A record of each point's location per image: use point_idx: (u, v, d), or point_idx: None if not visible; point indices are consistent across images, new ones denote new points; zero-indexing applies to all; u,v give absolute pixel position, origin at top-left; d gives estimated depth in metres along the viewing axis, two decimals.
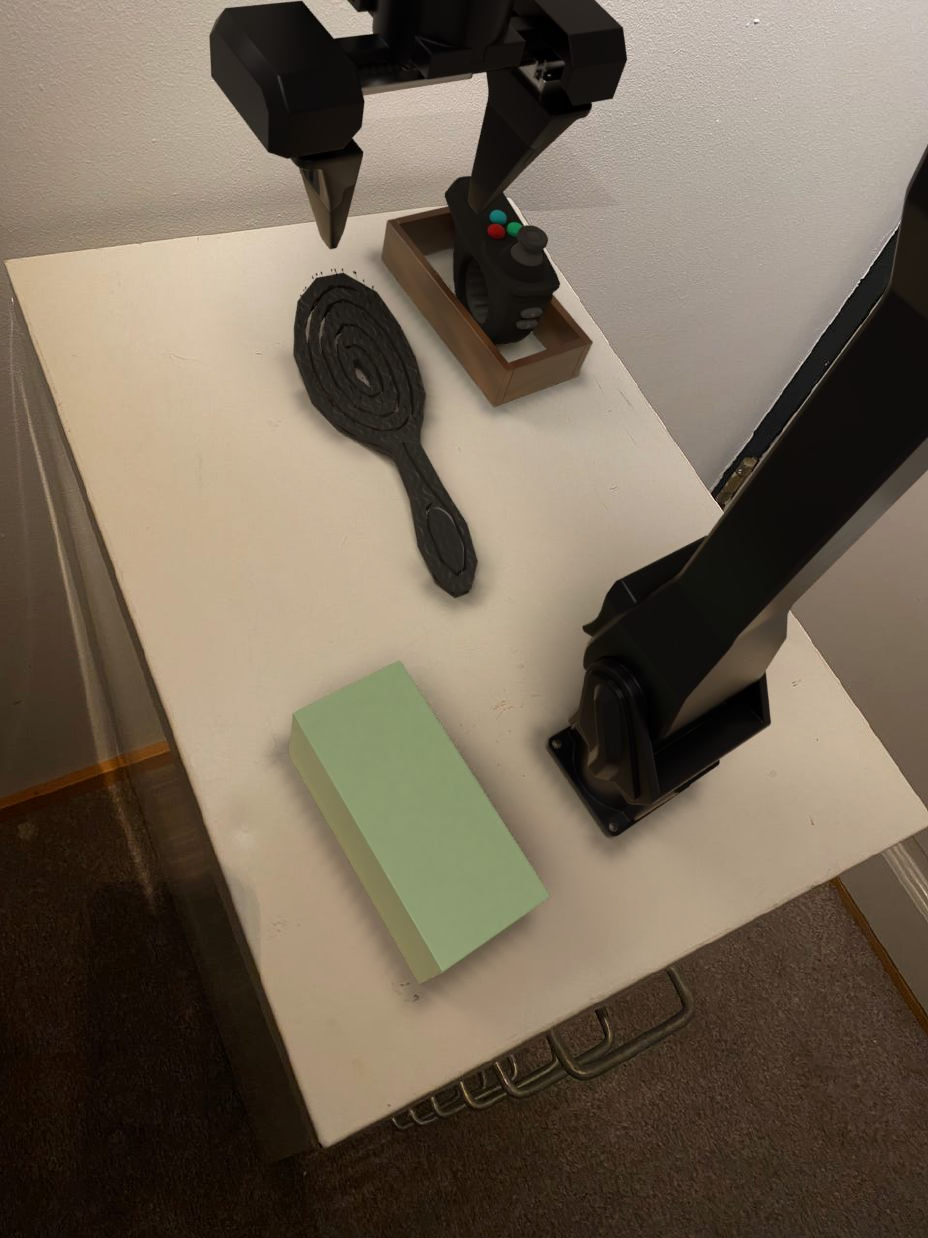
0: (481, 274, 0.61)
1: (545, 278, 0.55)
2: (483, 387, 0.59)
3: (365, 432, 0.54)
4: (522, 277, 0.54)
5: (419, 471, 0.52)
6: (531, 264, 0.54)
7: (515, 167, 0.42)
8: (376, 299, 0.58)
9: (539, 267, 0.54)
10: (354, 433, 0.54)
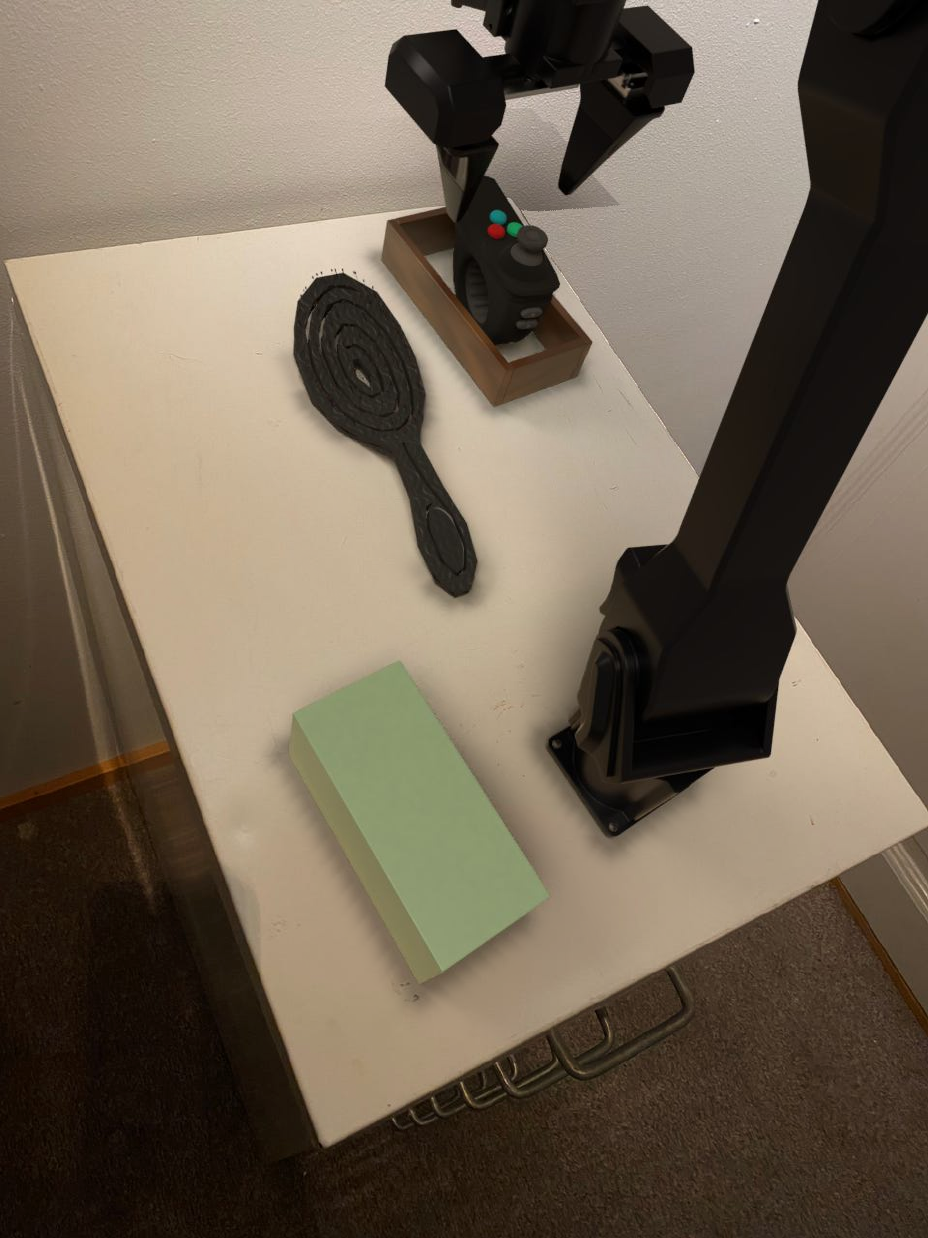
0: (481, 274, 0.61)
1: (545, 278, 0.55)
2: (483, 387, 0.59)
3: (365, 432, 0.54)
4: (522, 277, 0.54)
5: (419, 471, 0.52)
6: (531, 264, 0.54)
7: (601, 157, 0.53)
8: (376, 299, 0.58)
9: (539, 267, 0.54)
10: (354, 433, 0.54)
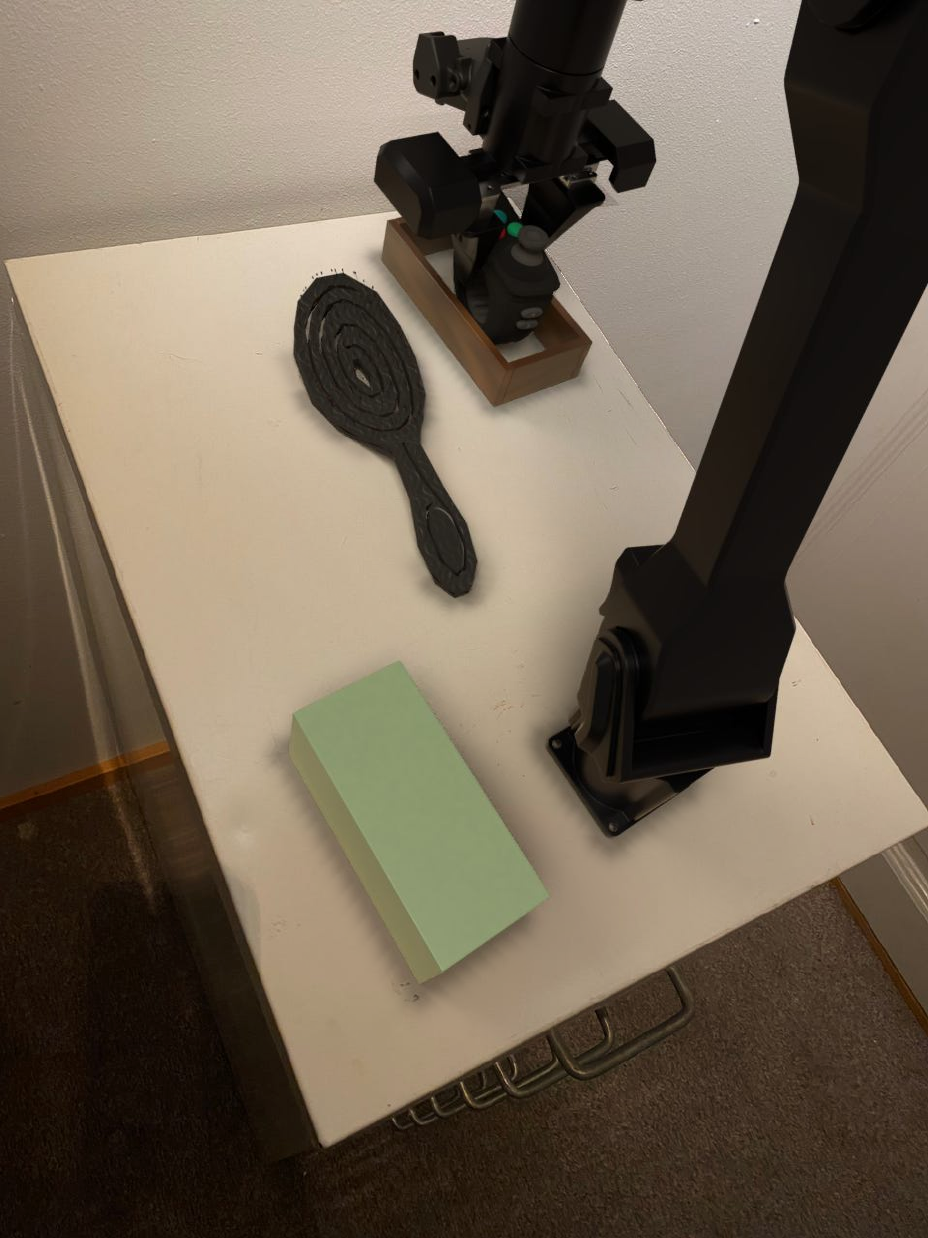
0: (481, 274, 0.61)
1: (545, 278, 0.55)
2: (483, 387, 0.59)
3: (365, 432, 0.54)
4: (522, 277, 0.54)
5: (419, 471, 0.52)
6: (531, 264, 0.54)
7: None
8: (376, 299, 0.58)
9: (539, 267, 0.54)
10: (354, 433, 0.54)
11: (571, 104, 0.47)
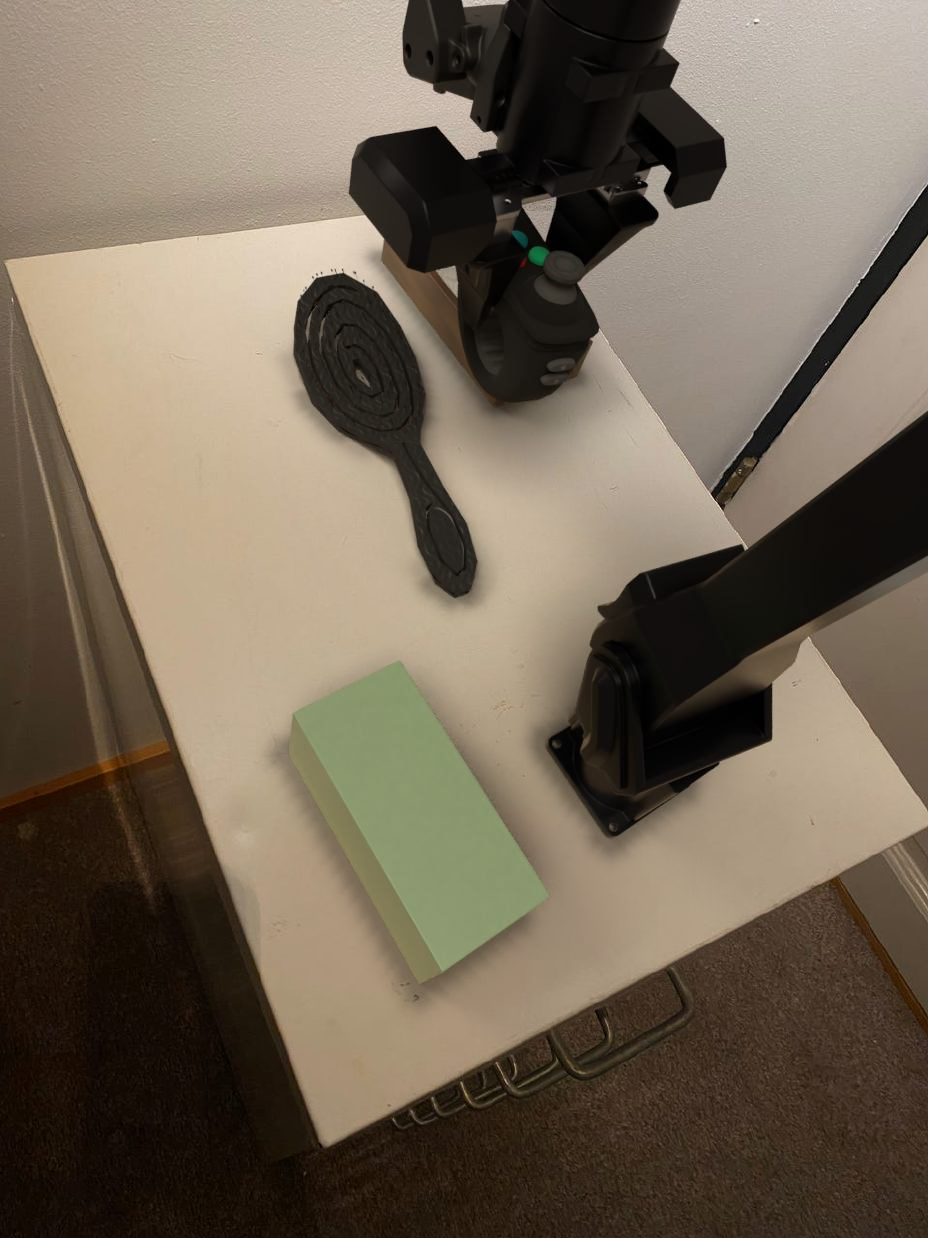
0: (494, 312, 0.48)
1: (580, 320, 0.42)
2: None
3: (365, 432, 0.54)
4: (550, 319, 0.41)
5: (419, 471, 0.52)
6: (561, 301, 0.41)
7: None
8: (376, 299, 0.58)
9: (572, 306, 0.41)
10: (354, 433, 0.54)
11: (622, 85, 0.33)
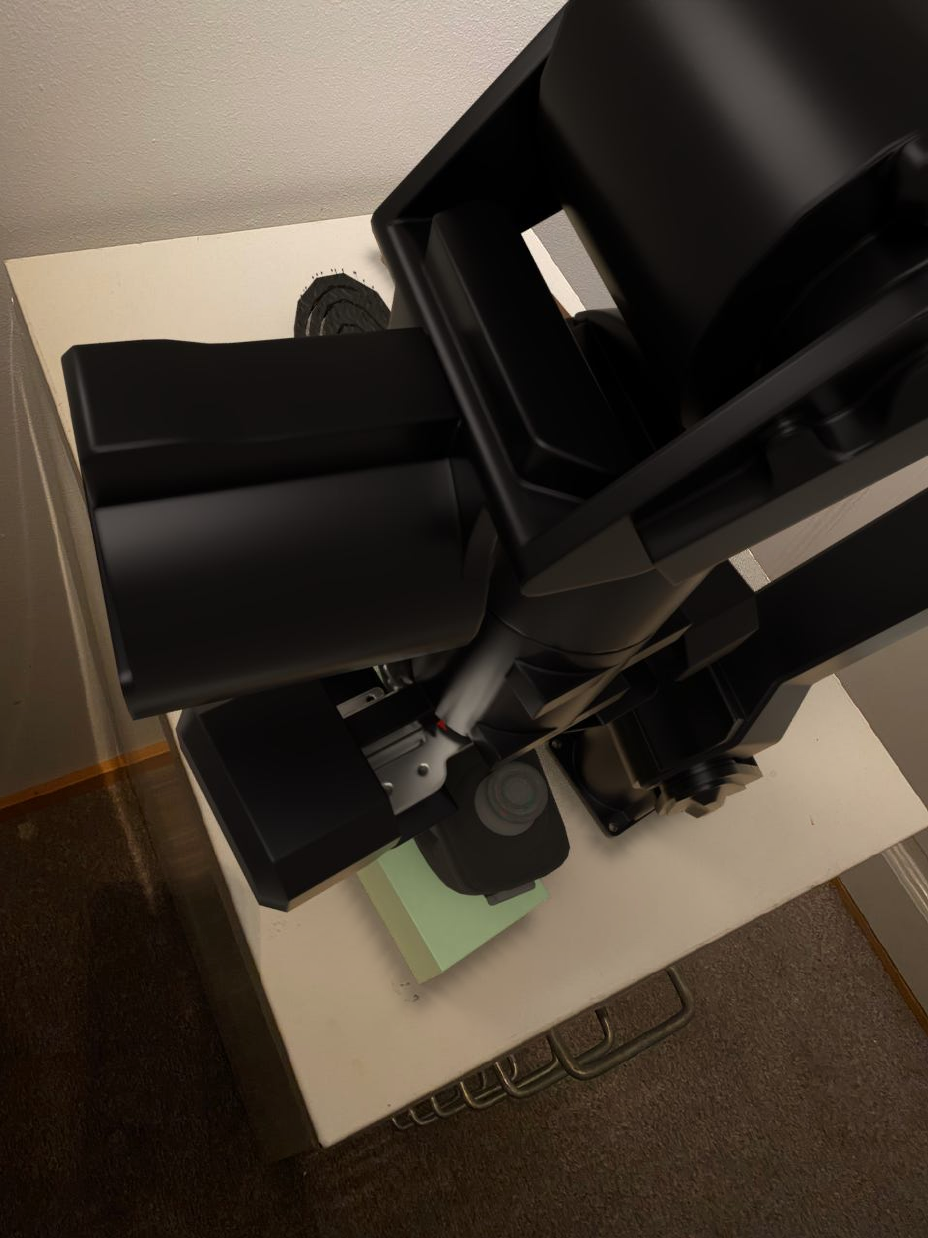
0: None
1: (542, 841, 0.29)
2: None
3: None
4: (497, 854, 0.28)
5: None
6: (514, 832, 0.28)
7: None
8: (376, 299, 0.58)
9: (530, 833, 0.28)
10: None
11: (599, 679, 0.20)
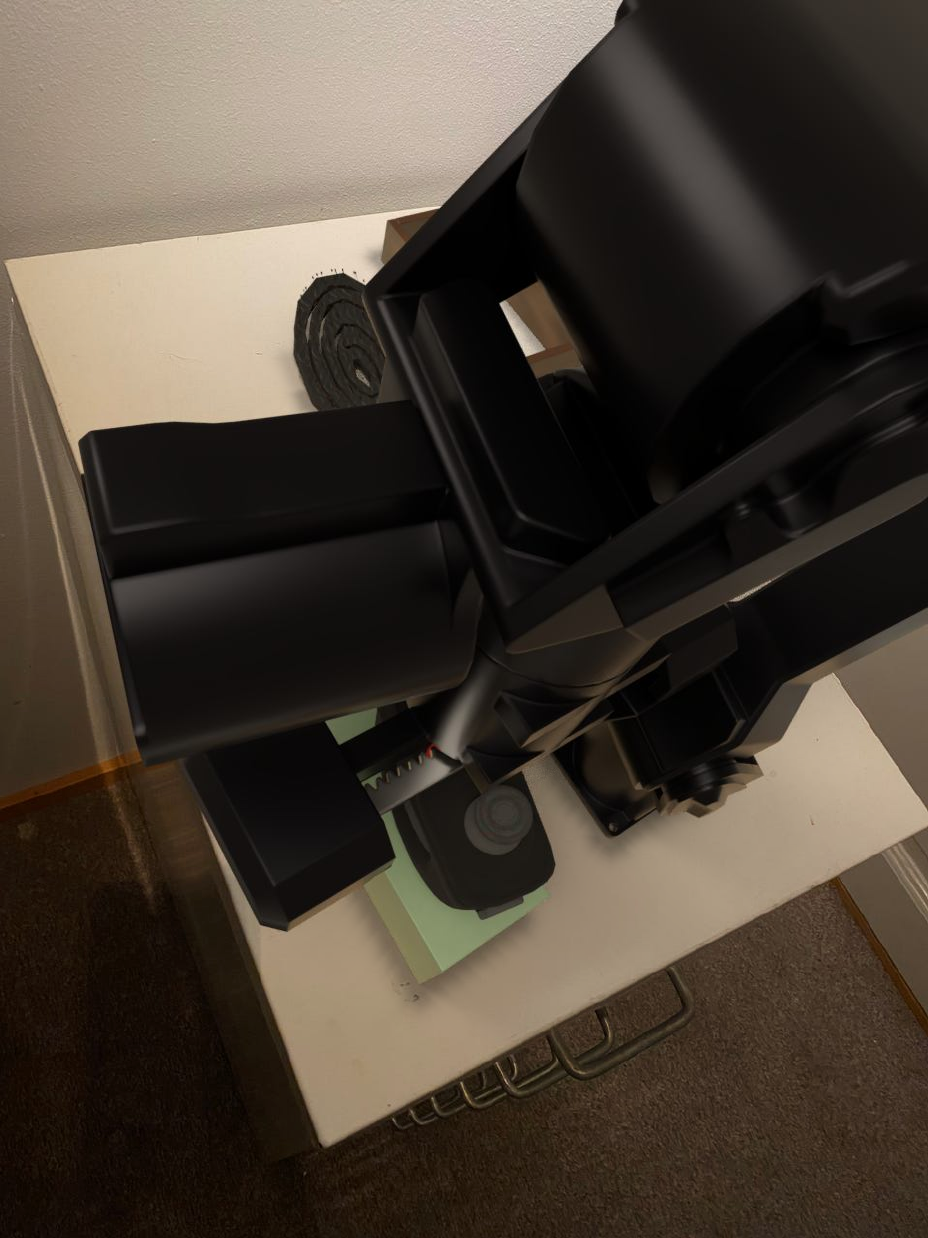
0: None
1: (528, 859, 0.30)
2: None
3: None
4: (486, 872, 0.30)
5: None
6: (501, 852, 0.29)
7: None
8: None
9: (517, 852, 0.30)
10: None
11: (582, 708, 0.21)
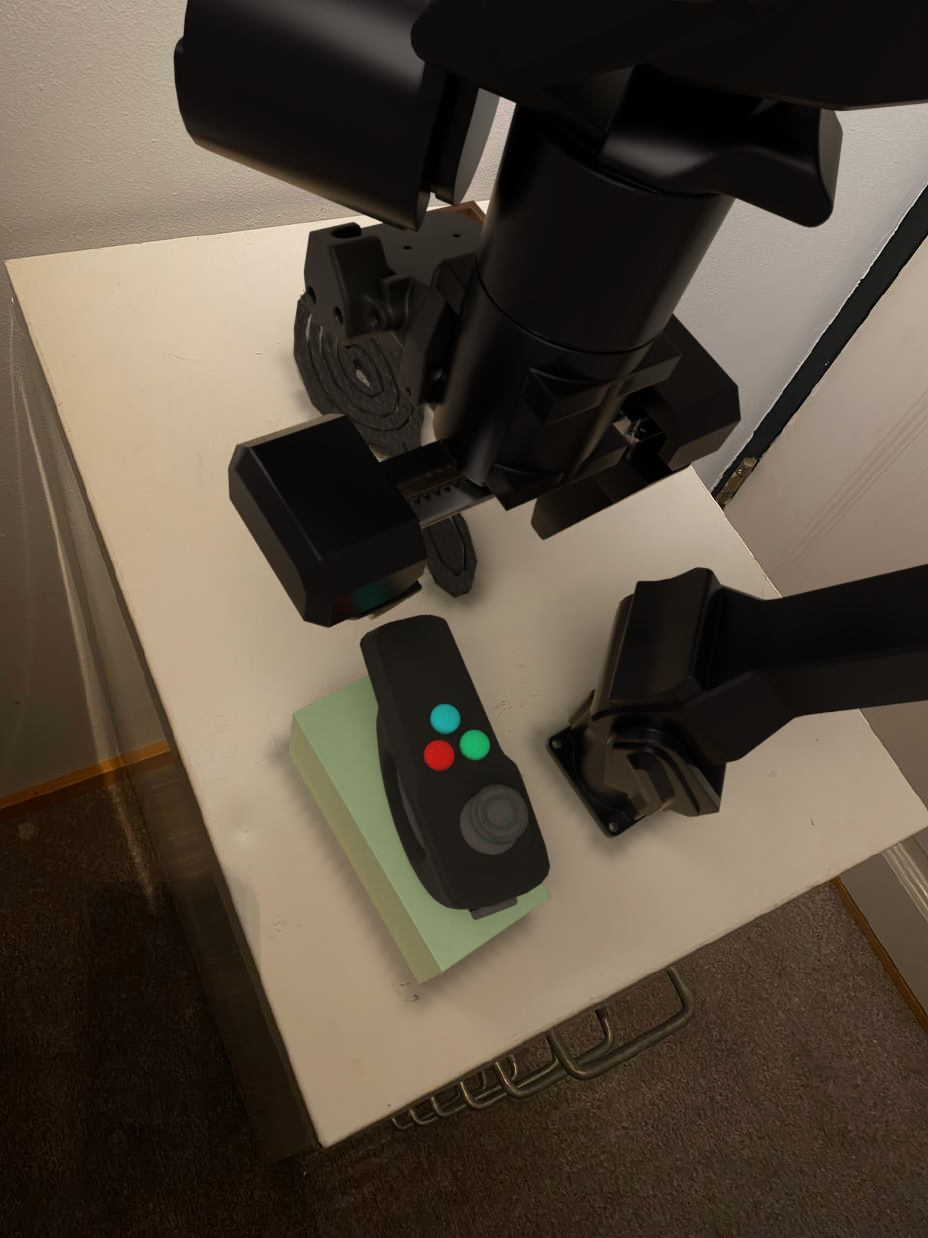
0: None
1: (523, 860, 0.30)
2: None
3: (365, 432, 0.54)
4: (480, 871, 0.30)
5: None
6: (496, 851, 0.29)
7: (594, 514, 0.35)
8: None
9: (512, 852, 0.30)
10: None
11: (601, 395, 0.23)
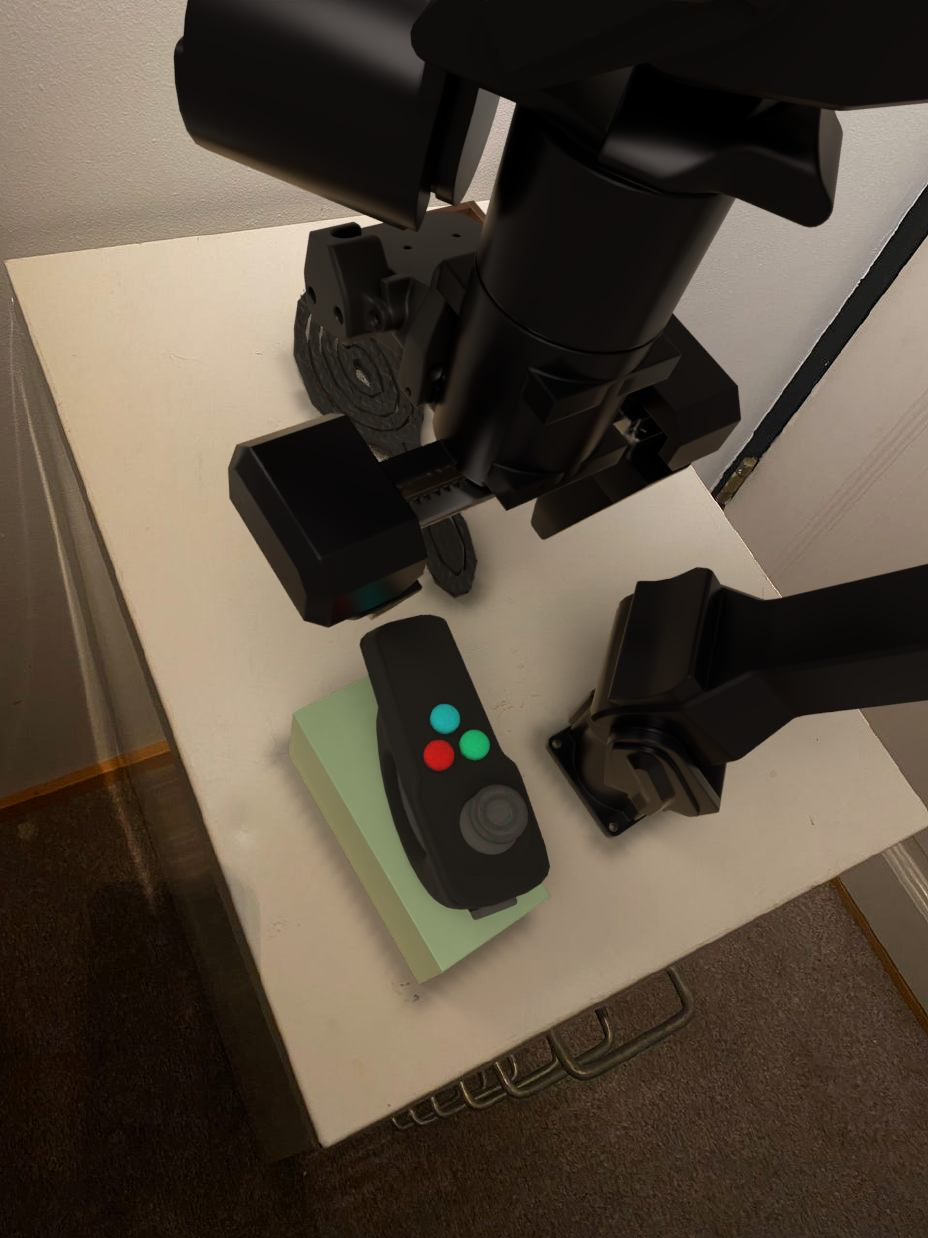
0: None
1: (523, 860, 0.30)
2: None
3: (365, 432, 0.54)
4: (479, 871, 0.30)
5: None
6: (496, 851, 0.29)
7: (594, 514, 0.35)
8: None
9: (511, 852, 0.30)
10: None
11: (601, 395, 0.23)
